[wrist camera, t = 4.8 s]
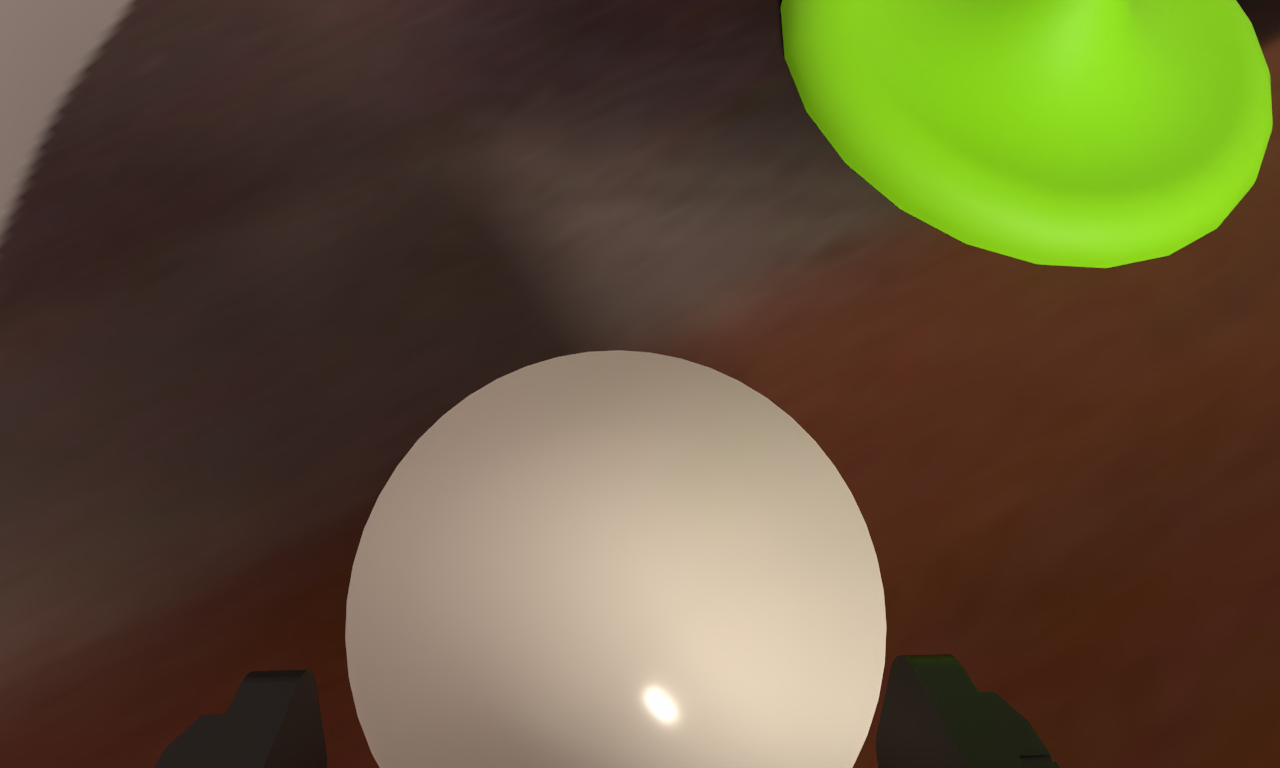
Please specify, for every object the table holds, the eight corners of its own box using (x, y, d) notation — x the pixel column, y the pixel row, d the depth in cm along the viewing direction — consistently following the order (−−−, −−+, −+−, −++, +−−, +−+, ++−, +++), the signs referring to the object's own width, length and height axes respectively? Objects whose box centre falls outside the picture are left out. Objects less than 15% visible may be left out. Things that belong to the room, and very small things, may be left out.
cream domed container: (710, 520, 19) (854, 350, 10) (726, 788, 17) (931, 901, 7) (467, 522, 18) (369, 342, 9) (452, 798, 16) (305, 937, 7)
